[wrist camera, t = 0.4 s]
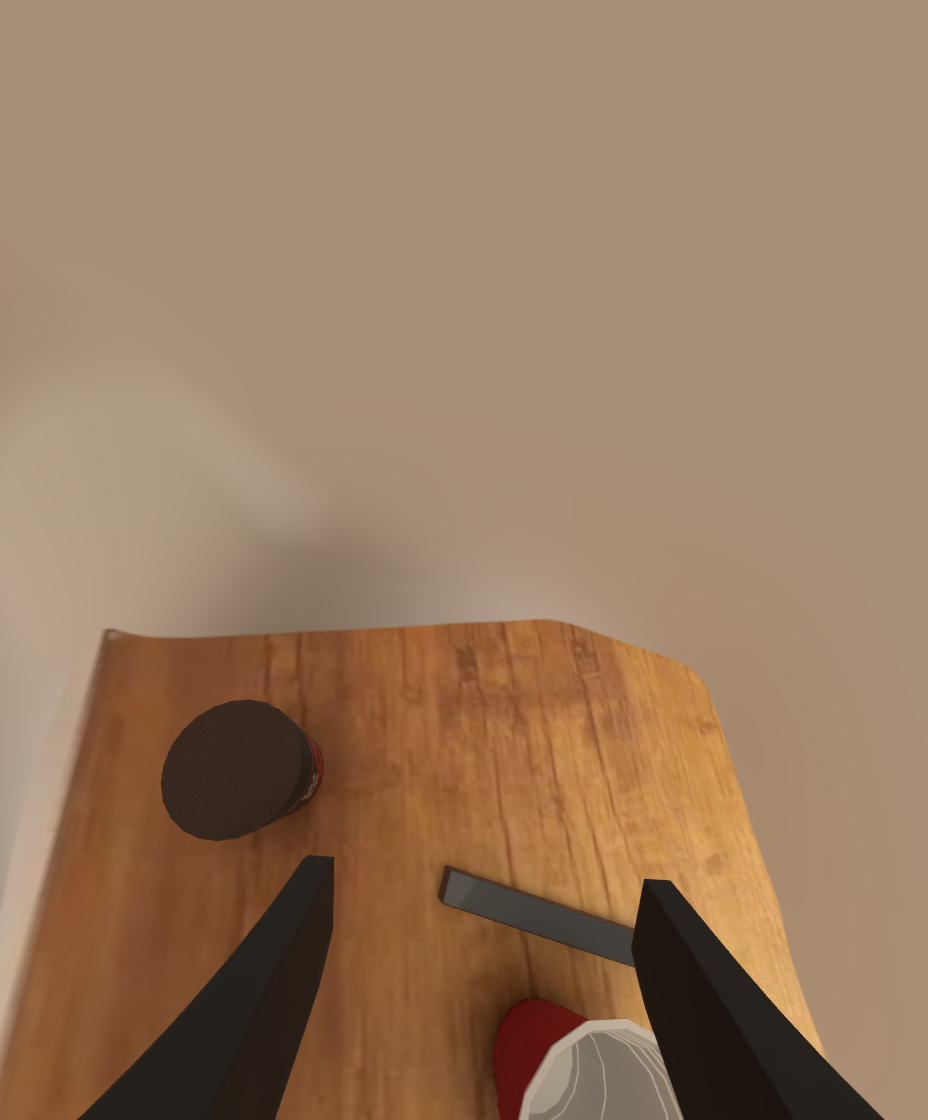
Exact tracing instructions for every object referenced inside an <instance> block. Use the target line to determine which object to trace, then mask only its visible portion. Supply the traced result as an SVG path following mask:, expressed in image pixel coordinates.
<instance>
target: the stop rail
mask: <svg viewBox="0 0 928 1120" xmlns="http://www.w3.org/2000/svg"><path fill="white" fill-rule="evenodd" d="M438 897H439V899H440V900H441V902H442V903H443V904H445V905H448V906H451V907H454V908H457V909H460V910H463V911H466V912H469V913H472V914H475V915H478V916H481V917H484V918H487V919H490V920H493V921H496V922H499V923H502V924H505V925H508V926H511V927H514V928H517V929H520V930H523V931H526V932H529V933H532V934H535V935H538V936H541V937H544V938H547V939H550V940H553V941H556V942H559V943H562V944H565V945H568V946H571V947H574V948H577V949H580V950H583V951H586V952H589V953H592V954H595V955H598V956H601V957H604V958H607V959H610V960H613V961H616V962H619V963H622V964H625V965H628V966H631V967H634V968H635V965H634V961H633V956H632V952H631V945H632V940H633V935H634V930H635V929H633V928H630V927H627V926H624V925H621V924H618V923H615V922H612V921H609V920H606V919H603V918H601V917H598V916H595V915H592V914H589V913H586V912H583V911H580V910H577V909H574V908H571V907H568V906H565V905H562V904H559V903H556V902H553V901H550V900H547V899H544V898H541V897H538V896H535V895H533V894H530V893H527V892H524V891H521V890H518V889H515V888H512V887H509V886H506V885H503V884H500V883H497V882H494V881H491V880H488V879H485V878H482V877H479V876H476V875H473V874H470V873H467V872H464V871H462V870H459V869H456V868H453V867H450V866H446V868H445V872H444V876H443V880H442V883H441V887H440V891H439V895H438Z"/></svg>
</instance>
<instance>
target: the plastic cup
mask: <svg viewBox="0 0 928 1120" xmlns="http://www.w3.org/2000/svg"><path fill="white" fill-rule="evenodd" d="M494 1080H495V1085H496V1090H497V1095H498V1109H499V1115H500V1120H684V1119H683V1116H682V1113H681V1110H680V1108H679V1105H678V1102H677V1099H676V1096H675V1093H674V1090H673V1087H672V1085H671V1082H670V1079H669V1076H668V1073H667V1070H666V1067H665V1065H664V1062H663V1059H662V1056H661V1053H660V1050H659V1047H658V1044H657V1041H656V1038H655V1035H654V1033H652V1032H650V1031H648V1030H647V1029H645V1028H643V1027H641V1026H639V1025H637V1024H635V1023H634V1022H632V1021H630V1020H628V1019H614V1020H596V1021H590V1020H588V1019H586V1018H584V1017H582V1016H580V1015H578V1014H576V1013H574V1012H572V1011H570V1010H568V1009H566V1008H564V1007H562V1006H557V1005H555V1004H553V1003H552V1002H550V1001H548V1000H546V999H541V998H538V999H525V1000H523V1001H521V1002H520V1003H518V1004H517V1005H515V1006H513V1007H512V1008H511V1009H510V1010H509V1012H508V1013H507V1015H506V1016H505V1018H504V1019H503V1021H502V1022H501V1024H500V1027H499V1030H498V1033H497V1037H496V1040H495V1044H494Z"/></svg>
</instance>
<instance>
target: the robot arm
mask: <svg viewBox="0 0 928 1120" xmlns="http://www.w3.org/2000/svg"><path fill="white" fill-rule="evenodd" d="M333 903H334V857H326V856H312V855H308V856H306V857H305V858H304V859H303V860H302V861H301V863H300V864H299V866H298V867H297V869H296V870H295V872H294V873H293V875H292V876H291V877H290V879H289V880H288V882H287V883H286V885H285V886H284V887H283V889H282V890H281V891H280V893H279V894H278V896H277V897H276V898H275V900H274V901H273V902H272V904H271V905H270V906H269V908H268V909H267V910H266V912H265V913H264V914H263V916H262V917H261V918H260V919H259V921H258V922H257V923H256V925H255V926H254V927H253V928H252V930H251V931H250V932H249V933H248V935H247V936H246V937H245V938H244V940H243V941H242V942H241V944H240V945H239V946H238V947H237V949H236V950H235V951H234V952H233V954H232V955H231V956H230V957H229V958H228V960H227V961H226V962H225V963H224V964H223V965H222V967H221V968H220V969H219V970H218V971H217V973H216V974H215V975H214V976H213V977H212V978H211V980H210V981H209V982H208V983H207V984H206V985H205V987H204V988H203V989H202V990H201V991H200V992H199V994H198V995H197V996H196V997H195V998H194V999H193V1001H192V1002H191V1003H190V1004H189V1005H188V1006H187V1007H186V1008H185V1009H184V1011H183V1012H182V1013H181V1014H180V1015H179V1016H178V1017H177V1018H176V1019H175V1021H174V1022H173V1023H172V1024H171V1025H170V1026H169V1027H168V1028H167V1029H166V1030H165V1031H164V1032H163V1034H162V1035H161V1036H160V1037H159V1038H158V1039H157V1040H156V1041H155V1042H154V1043H153V1044H152V1045H151V1046H150V1047H149V1048H148V1049H147V1050H146V1051H145V1052H144V1054H143V1055H142V1056H141V1057H140V1058H139V1059H138V1060H137V1061H136V1062H135V1063H134V1064H133V1065H132V1066H131V1067H130V1068H129V1069H128V1070H127V1071H126V1072H125V1073H124V1074H123V1075H122V1076H121V1077H120V1078H119V1079H118V1080H117V1081H116V1082H115V1083H114V1084H113V1085H112V1086H111V1087H110V1088H109V1089H108V1090H107V1091H106V1092H105V1093H104V1094H103V1095H102V1096H101V1097H100V1098H99V1099H98V1100H97V1101H96V1102H95V1103H94V1104H93V1105H92V1106H91V1107H90V1108H89V1109H88V1110H87V1111H86V1112H85V1113H84V1114H83V1115H81V1116H80V1117H79V1118H78V1119H77V1120H275V1118H276V1115H277V1112H278V1109H279V1106H280V1103H281V1100H282V1097H283V1094H284V1091H285V1088H286V1085H287V1082H288V1079H289V1076H290V1073H291V1070H292V1067H293V1064H294V1061H295V1058H296V1055H297V1052H298V1049H299V1046H300V1043H301V1040H302V1037H303V1034H304V1031H305V1028H306V1025H307V1022H308V1019H309V1016H310V1013H311V1009H312V1006H313V1003H314V1000H315V997H316V994H317V991H318V988H319V984H320V980H321V976H322V972H323V968H324V964H325V960H326V956H327V952H328V948H329V944H330V939H331V935H332V931H333ZM631 952H632V956H633V961H634V965H635V969H636V973H637V977H638V982H639V985H640V989H641V993H642V997H643V1001H644V1005H645V1009H646V1012H647V1015H648V1018H649V1021H650V1024H651V1027H652V1030H653V1032H654V1035H655V1038H656V1041H657V1044H658V1047H659V1050H660V1053H661V1056H662V1059H663V1062H664V1065H665V1067H666V1070H667V1073H668V1076H669V1079H670V1082H671V1085H672V1087H673V1090H674V1093H675V1096H676V1099H677V1102H678V1105H679V1108H680V1110H681V1113H682V1116H683V1119H684V1120H884V1119H883V1118H882V1117H881V1116H880V1115H879V1114H878V1113H877V1112H876V1111H875V1110H874V1109H873V1108H872V1107H871V1106H870V1105H869V1104H868V1103H867V1102H866V1101H865V1100H864V1099H863V1098H862V1097H861V1096H860V1095H859V1094H858V1093H857V1092H856V1091H855V1090H854V1089H853V1088H852V1087H851V1086H850V1085H849V1084H848V1083H847V1082H846V1081H845V1080H844V1079H843V1078H842V1077H841V1076H840V1075H839V1074H838V1073H837V1072H836V1070H835V1069H833V1067H831V1065H830V1064H829V1063H828V1062H827V1061H826V1060H825V1059H824V1058H823V1057H822V1056H821V1055H820V1054H819V1053H818V1052H817V1051H816V1050H815V1048H814V1047H813V1046H812V1045H811V1044H810V1043H809V1042H808V1041H807V1040H806V1039H805V1038H804V1037H803V1035H802V1034H801V1033H800V1032H799V1031H798V1030H797V1029H796V1028H795V1027H794V1026H793V1025H792V1024H791V1022H790V1021H789V1020H788V1019H787V1018H786V1017H785V1016H784V1015H783V1014H782V1013H781V1011H780V1010H779V1009H778V1008H777V1007H776V1006H775V1005H774V1004H773V1002H772V1001H771V1000H770V999H769V998H768V997H767V996H766V994H765V993H764V992H763V991H762V990H761V989H760V988H759V986H758V985H757V984H756V983H755V982H754V981H753V979H752V978H751V977H750V976H749V975H748V974H747V972H746V971H745V970H744V969H743V968H742V967H741V965H740V964H739V963H738V962H737V961H736V960H735V958H734V957H733V956H732V955H731V954H730V952H729V951H728V950H727V949H726V948H725V946H724V945H723V944H722V943H721V942H720V940H719V939H718V938H717V937H716V936H715V934H714V933H713V932H712V931H711V929H710V928H709V927H708V926H707V925H706V923H705V922H704V921H703V920H702V918H701V917H700V916H699V915H698V914H697V912H696V911H695V910H694V909H693V907H692V906H691V905H690V904H689V903H688V901H687V900H686V899H685V898H684V896H683V895H682V894H681V893H680V892H679V890H678V889H677V888H676V887H675V886H674V884H673V883H672V882H671V881H669V880H654V879H644V883H643V888H642V893H641V898H640V904H639V909H638V914H637V919H636V924H635V930H634V935H633V940H632V945H631Z"/></svg>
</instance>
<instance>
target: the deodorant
mask: <svg viewBox="0 0 928 1120" xmlns="http://www.w3.org/2000/svg"><path fill="white" fill-rule="evenodd" d="M322 775H323V758H322V754H321V751H320V749H319V747H318V746H317V744H316V742H315V741H313V740H312V739H311V738H310V737H309V736H308V735H307V734H306V733H305V732H304V731H302V730H301V729H300V728H299V727H298V726H297V725H296V724H295V723H294V722H292V721H291V720H290V719H289V718H288V717H287V716H286V715H285V714H284V713H282V712H281V711H280V710H279V709H277V708H275V707H273V706H271V705H269V704H267V703H265V702H259V701H254V700H239V701H230V702H227V703H224V704H221V705H218V706H215V707H213V708H211V709H210V710H208V711H206V712H205V713H203V714H201V715H199V716H198V717H197V718H195V719H194V720H193V721H192V722H191V723H190V724H189V725H188V726H187V727H186V728H185V729H183V731H182V732H181V733H180V735H179V736H178V738H177V739H176V740H175V742H174V743H173V745H172V746H171V748H170V751H169V753H168V756H167V758H166V760H165V763H164V766H163V773H162V779H161V789H162V796H163V803H164V805H165V807H166V809H167V811H168V813H169V815H170V817H171V819H172V820H173V821H174V822H175V823H176V824H177V825H178V826H179V827H180V828H181V829H182V830H183V831H185V832H187V833H189V834H191V835H193V836H195V837H197V838H199V839H206V840H214V841H221V840H228V839H234V838H239V837H241V836H243V835H246V834H248V833H250V832H253V831H255V830H257V829H259V828H261V827H263V826H266V825H268V824H270V823H272V822H274V821H276V820H278V819H280V818H282V817H284V816H287V815H289V814H291V813H293V812H295V811H297V810H298V809H300V808H301V807H302V806H304V805H305V804H306V803H307V802H308V801H309V800H310V799H311V798H312V797H313V795H314V794H315V793H316V791H317V789H318V787H319V785H320V783H321V779H322Z"/></svg>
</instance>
